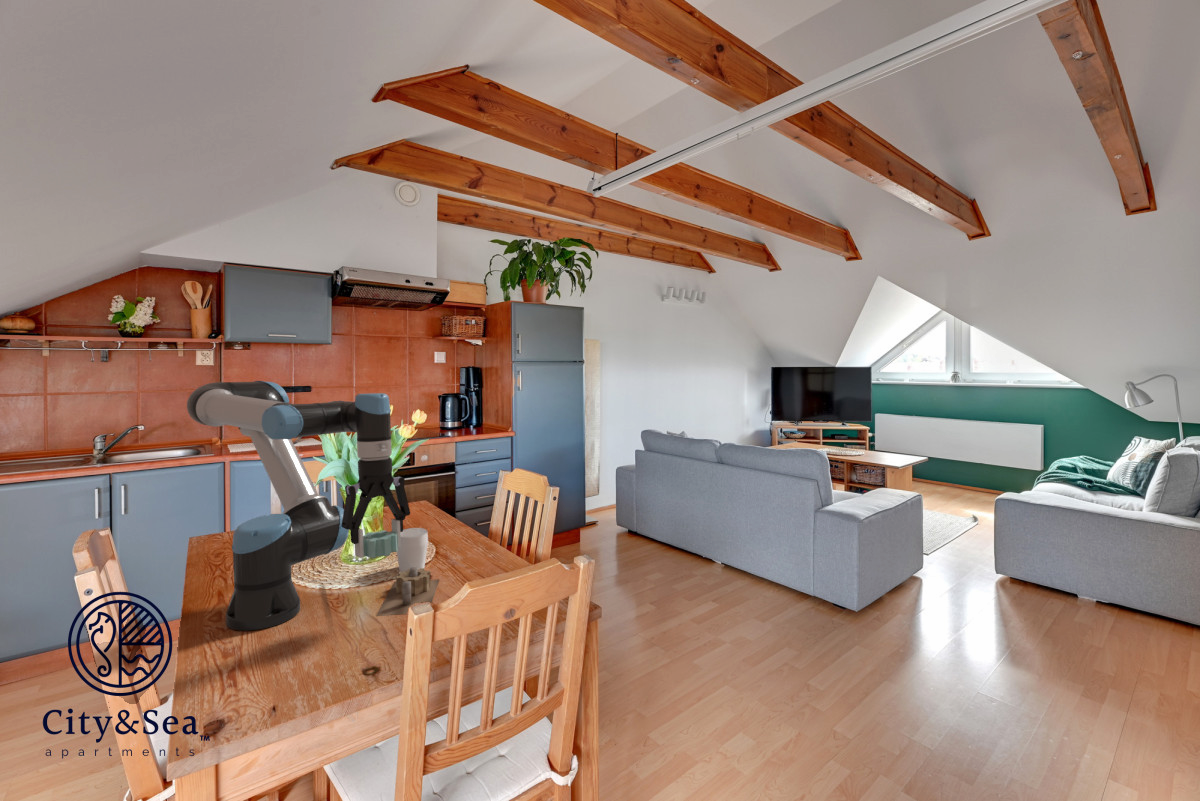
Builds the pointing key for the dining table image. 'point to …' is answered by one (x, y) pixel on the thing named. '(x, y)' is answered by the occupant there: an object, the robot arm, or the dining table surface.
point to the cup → (412, 549)
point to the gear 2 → (414, 581)
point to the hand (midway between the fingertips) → (378, 550)
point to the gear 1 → (379, 543)
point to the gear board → (398, 600)
